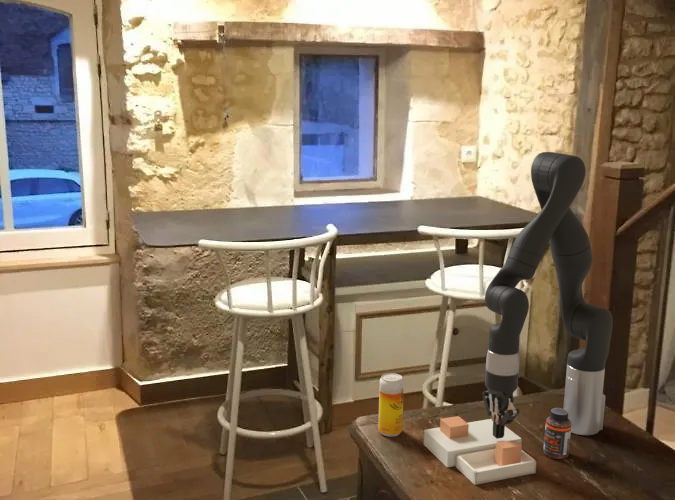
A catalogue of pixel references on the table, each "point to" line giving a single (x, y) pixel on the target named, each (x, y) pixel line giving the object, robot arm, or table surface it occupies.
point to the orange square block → (454, 427)
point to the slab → (465, 441)
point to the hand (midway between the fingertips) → (498, 436)
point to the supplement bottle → (557, 434)
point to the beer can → (391, 404)
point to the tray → (492, 466)
